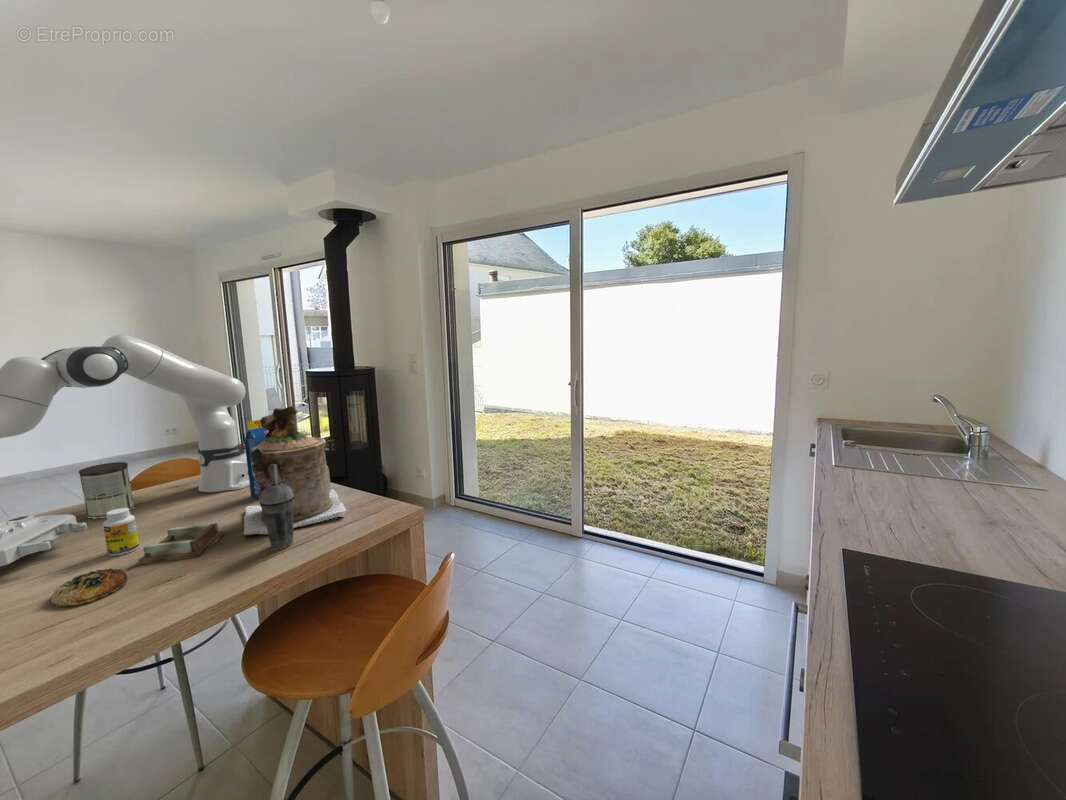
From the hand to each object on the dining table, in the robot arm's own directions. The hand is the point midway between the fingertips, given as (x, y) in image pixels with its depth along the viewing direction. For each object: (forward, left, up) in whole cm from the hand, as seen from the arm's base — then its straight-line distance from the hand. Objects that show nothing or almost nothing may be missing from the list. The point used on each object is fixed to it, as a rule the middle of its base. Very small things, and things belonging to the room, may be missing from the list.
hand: (68, 535), depth 101 cm
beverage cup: (-25, +41, -6) cm, 48 cm away
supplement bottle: (-7, +8, -6) cm, 12 cm away
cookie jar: (-39, +26, -6) cm, 47 cm away
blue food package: (-48, +2, -6) cm, 48 cm away
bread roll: (+5, +24, -6) cm, 25 cm away
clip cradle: (-14, +20, -5) cm, 25 cm away
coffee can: (-17, -28, -6) cm, 33 cm away
